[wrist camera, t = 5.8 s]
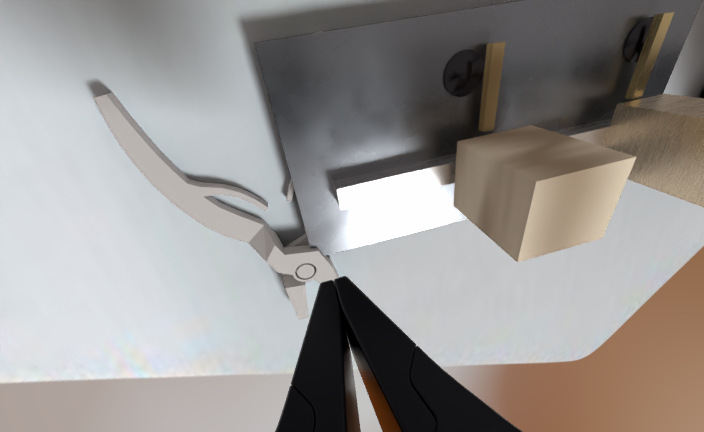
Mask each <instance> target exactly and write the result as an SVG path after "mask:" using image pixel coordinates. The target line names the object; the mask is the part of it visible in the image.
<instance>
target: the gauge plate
mask: <svg viewBox="0 0 704 432" xmlns="http://www.w3.org/2000/svg"><path fill="white" fill-rule="evenodd" d="M701 2H702V0H522V1H515V2H509V3H503V4H496V5H490V6H484V7H477V8H471V9H465V10H458V11H452V12H446V13H439V14H433V15H427V16H420V17H414V18H408V19H401V20H395V21H388V22H382V23H376V24H369V25H363V26H357V27H350V28H344V29H338V30H331V31H325V32H319V33H312V34H306V35H300V36H293V37H287V38H281V39H274V40H268V41H262V42H255V43H254V44H255V48H256V51H257V55H258V59H259V62H260V66H261V70H262V73H263V77H264V80H265V84H266V88H267V91H268V95H269V99H270V102H271V106H272V110H273V113H274V117H275V121H276V124H277V128H278V131H279V135H280V139H281V142H282V146H283V150H284V153H285V157H286V161H287V164H288V168H289V172H290V175H291V179H292V182H293V186H294V190H295V193H296V197H297V201H298V204H299V208H300V212H301V215H302V219H303V223H304V226H305V230H306V234H307V237H308V241H309V244H310V248H311V249H313V248H318V249H319V250H320V251H321V253H322V254H323V255H324V256H326V255H329V254H333V253H337V252H341V251H345V250H349V249H353V248H357V247H360V246H364V245H368V244H372V243H376V242H380V241H384V240H388V239H392V238H395V237H399V236H403V235H407V234H411V233H415V232H419V231H423V230H426V229H430V228H434V227H438V226H442V225H446V224H450V223H454V222H458V221H461V220H465V219H468V218H467V217H466V216H464V215H463V214H462V213H461V212H460V211H459V210H458V209H457V208H455V207H454V206H453V201H454V186H455V170H456V155H457V141H461V140H466V139H470V138H475V137H479V136H484V135H488V134H493V133H498V132H502V131H507V130H511V129H516V128H520V127H525V126H529V125H533V126H536V127H539V128H543V129H546V130H549V131H553V132H556V133H559V134H563V135H566V136H569V137H573V138H576V139H579V140H583V141H586V142H589V143H593V144H596V145H599V146H603V147H606V148H609V149H613V150H616V151H619V152H623V153H626V154H629V155H632V156H636V160H635V162H634V164H633V167H632V169H631V172H630V174H629V176H628V179H629V180H631V181H634V182H637V183H639V184H642V185H645V186H648V187H650V188H653V189H656V190H658V191H661V192H664V193H666V194H669V195H672V196H674V197H677V198H680V199H683V200H685V201H688V202H691V203H693V204H696V205H699V206H701V207H704V98H696V97H688V96H679V95H671V94H663V92H664V90H665V87H666V85H667V83H668V80H669V78H670V75H671V73H672V71H673V68H674V66H675V64H676V61H677V59H678V56H679V54H680V52H681V49H682V47H683V45H684V42H685V40H686V37H687V35H688V33H689V30H690V28H691V26H692V23H693V21H694V18H695V16H696V14H697V11H698V9H699V7H700V4H701ZM496 42H505V49H504V57H503V64H502V72H501V79H500V87H499V95H498V102H497V110H496V117H495V125H494V129H493V130H489V131H484V132H483V131H480V130H478V128H479V118H480V109H481V99H482V89H483V79H484V70H485V60H486V50H487V44H490V43H496Z"/></svg>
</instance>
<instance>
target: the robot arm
mask: <svg viewBox="0 0 704 432" xmlns="http://www.w3.org/2000/svg"><path fill="white" fill-rule="evenodd" d="M701 98H704V93H703V95H702V97H701ZM349 344H350V346H349ZM350 348H351V351H352V353H353V356H354V359H355V361H356V364H357V366H358V369H359V372H360V374H361V377H362V379H363V382H364V385H365V387H366V390H367V392H368V395H369V398H370V400H371V403H372V405H373V408H374V410H375V413H376V416H377V418H378V421H379V424H380V426H381V428H382V431H383V432H522V431H521V430H519V429H518V428H517V427H515V426H514V425H513V424H511V423H510V422H509V421H507V420H506V419H505V418H503V417H502V416H501V415H499V414H498V413H497V412H496V411H494V410H493V409H492V408H490V407H489V406H488V405H487V404H485V403H484V402H483V401H482V400H480V399H479V398H478V397H476V396H475V395H474V394H473V393H471V392H470V391H469V390H467V389H466V388H465V387H464V386H462V385H461V384H460V383H458V382H457V381H456V380H455V379H454V378H453V377H451V376H450V375H449V374H448V373H446V372H445V371H444V370H443V369H442V368H441V367H440V366H438V365H437V364H436V363H435V362H434V361H433V360H432V359H431V358H430V357H429V356H428V355H427V354H426V353H425V352H423V351H422V350H421V349H420V348H419V347H418V346H416V344H415V343H414V342H413V341H412V340H411V339H410V338H409V337H408V336H407V335H406V334H405V333H404V332H403V331H402V330H401V329H400V328H399V327H398V326H397V325H396V324H395V323H394V322H393V321H392V320H391V319H390V318H389V317H387V316H386V315H385V314H384V313H383V312H382V311H381V310H380V309H379V308H378V307H377V306H376V305H375V304H374V303H373V302H372V301H371V300H370V299H369V298H368V297H367V296H366V295H365V294H364V293H363V292H362V291H361V290H360V289H359V288H358V287H357V286H356V285H355V284H354V283H353V282H352V281H351V280H350V279H349V278H348V277H346V276H344V277H340V278H336V279H334V281H333V280H329V281H325V282H322V283H321V284H320V286H319V290H318V293H317V297H316V300H315V303H314V307H313V310H312V314H311V317H310V320H309V324H308V327H307V331H306V334H305V337H304V341H303V344H302V348H301V351H300V354H299V358H298V361H297V365H296V368H295V371H294V375H293V378H292V382H291V385H292V386H290V388H289V391H288V395H287V398H286V402H285V405H284V408H283V411H282V414H281V417H280V420H279V423H278V426H277V429H276V431H275V432H361V430H360V422H359V414H358V407H357V398H356V391H355V383H354V375H353V367H352V359H351V352H350Z"/></svg>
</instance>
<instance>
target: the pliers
mask: <svg viewBox="0 0 704 432" xmlns="http://www.w3.org/2000/svg"><path fill="white" fill-rule="evenodd" d="M319 32H323V31H322V30H321V31H318V32H315V33H319ZM311 34H312V33H311ZM94 100H95V102H96V103H97V105H98V107H99V109H100V111H101V113H102V115H103V117H104V119H105V121H106V123H107V124H108V126H109V128H110V129H111V131H112V133H113V134H114V136H115V138H116V139H117V141H118V143H119V144H120V146H121V147H122V149H123V150H124V151H125V153H126V154H127V155H128V157H129V158H130V159H131V161H132V162H133V163H134V164H135V166H136V167H137V168H138V169H139V170H140V172H141V173H142V174H143V175H144V176H145V177H146V178H147V179H148V180H149V182H150V183H151V184H152V185H153V186H154V187H155V188H156V189H157V190H159V191H160V192H161V193H162V194H163V195H164V196H165V197H166V198H167V199H168V200H170V201H171V202H172V203H173V204H175V205H176V206H177V207H178V208H180V209H181V210H182V211H183V212H185V213H186V214H187V215H189V216H190V217H192V218H193V219H195V220H196V221H198V222H199V223H201V224H202V225H204V226H206V227H208V228H210V229H212V230H214V231H216V232H218V233H220V234H222V235H224V236H227V237H230V238H234V239H237V240H240V241H244V242H247V243H249V244H250V245H251V246H252V247H253V248H254V249H255V250H256V251H257V252H258V253H259V254H260V256H261V257H262V258H263V259H264V260H265V261H266V262H267V263H268V264H269V265H270V266H271V267H272V268H273V269H274V270H275V271H276V272H278V273H282V274H283V280H284V285H285V289H286V291H287V294H288V296H289V298H290V300H291V303H292V305H293V307H294V309H295V311H296V314H297V316H298V318H299V319H303V318H308V309H307V299H306V288H305V282H307V281H310V280H313V279H314V280H316V281H318V282H319V283H320V284H321V283H322V282H325V281H329V280H333V281H334V279H336V278H339V275H338V273H337V271H336V269H335V267H334V265H333V263H332V261H331V259H330V257H327V256H324V255H323V254H322V253H321V251H320V250H319V249H318V248H313V249H311V248H310V244H309V241H308V237H307V234H306V230H305V226H304V231H305V234H303V235H302V236H300V237H299V238H297V239H296V240H294V241H293V242H291V243H290V244H288V245H287V246H285V247H283V245H282V243H281V241H280V239H279V238H278V236H277V234H276V233H275V232H274V231H273V229H272V228H271V227H270V226H269V225H268V224H267V223H266V222H265V221H264V220H262V219H259V218H257V217H254V216H252V215H249V214H246V213H244V212H241V211H239V210H237V209H234V208H232V207H230V206H228V205H225V204H223V203H221V202H219V201H218V200H216V199H215V198H213V197H212V196H213V195H221V194H222V195H228V196H233V197H239V198H241V199H243V200H246V201H248V202H250V203H253V204H254V205H256V206H258V207H259V208H261V209H263V210H266V209H267V208H268V203H267V202H265V201H264V200H262V199H261V198H259V197H257V196H256V195H254V194H252V193H250V192H248V191H246V190H244V189H242V188H238V187H234V186H230V185H226V184H219V183H203V182H199V181H195V180H191V179H189V178H188V177H187V176H186V175H185V174H184V173H183V172H182V171H181V170H180V169H179V168H178V167H176V166H175V165H174V164H173V163H172V162H171V161H170V160H169V159H168V158H167V157H166V156H165V155H164V154H163V153H162V152H161V151H160V149H159V148H158V147H157V146H156V145H155V144H154V142H153V141H152V140H151V139H150V138H149V137H148V136H147V134H146V133H145V132H144V131H143V130H142V128H141V127H140V126H139V125H138V124H137V122H136V121H135V120H134V119H133V118H132V117H131V115H130V114H129V113H128V111H127V110H126V109H125V108H124V106H123V105H122V104H121V102H120V101H119V100H118V99H117V97H116V96H115V95H114V93H109V94H105V95H102V96H98V97H95V98H94ZM293 193H294V186H293V182H292V179H291V180H290V183H289V186H288V191H287V196H286V200H287V201H292V197H293Z"/></svg>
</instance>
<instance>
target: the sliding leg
mask: <svg viewBox="0 0 704 432" xmlns="http://www.w3.org/2000/svg"><path fill="white" fill-rule="evenodd" d="M504 49H505V42H496V43H490V44H487V50H486V60H485V70H484V79H483V89H482V99H481V109H480V118H479V128H478V130H480V131H483V132H484V131H489V130H493V129H494V125H495V117H496V110H497V102H498V95H499V87H500V79H501V72H502V64H503V57H504ZM635 160H636V156H632V155H629V154H626V153H623V152H619V151H616V150H613V149H609V148H606V147H603V146H599V145H596V144H593V143H589V142H586V141H583V140H579V139H576V138H573V137H569V136H566V135H563V134H559V133H556V132H553V131H549V130H546V129H543V128H539V127H536V126H533V125H529V126H525V127H520V128H516V129H511V130H507V131H502V132H498V133H493V134H488V135H484V136H479V137H475V138H470V139H466V140H461V141H457V155H456V170H455V186H454V201H453V206H454V207H455V208H457V209H458V210H459V211H460V212H461V213H462V214H463V215H464V216H466V217H467V218H468V219H469V220H470V221H471V222H472V223H474V224H475V225H476V226H477V227H478V228H479V229H480V230H481V231H483V232H484V233H485V234H486V235H487V236H488V237H489V238H491V239H492V240H493V241H494V242H495V243H496V244H497V245H498V246H500V247H501V248H502V249H503V250H504V251H505V252H506V253H508V254H509V255H510V256H511V257H512V258H513V259H514V260H515V261H517V262H520V261H524V260H527V259H531V258H534V257H538V256H541V255H545V254H548V253H552V252H555V251H559V250H562V249H566V248H569V247H573V246H576V245H580V244H583V243H587V242H590V241H594V240H597V239H601V238H603V236H604V233H605V231H606V228H607V226H608V224H609V221H610V219H611V217H612V214H613V212H614V210H615V207H616V205H617V202H618V200H619V198H620V195H621V193H622V191H623V188H624V186H625V183H626V181H627V179H628V176H629V174H630V172H631V169H632V167H633V164H634V162H635Z"/></svg>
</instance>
